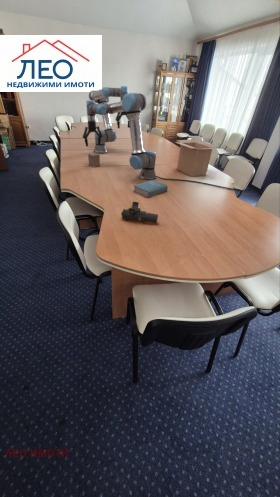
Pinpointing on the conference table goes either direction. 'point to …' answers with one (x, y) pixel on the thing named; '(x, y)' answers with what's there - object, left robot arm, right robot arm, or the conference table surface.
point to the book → (150, 188)
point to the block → (94, 159)
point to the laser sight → (138, 214)
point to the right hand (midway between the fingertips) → (93, 145)
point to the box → (194, 157)
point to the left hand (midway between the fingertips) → (123, 128)
